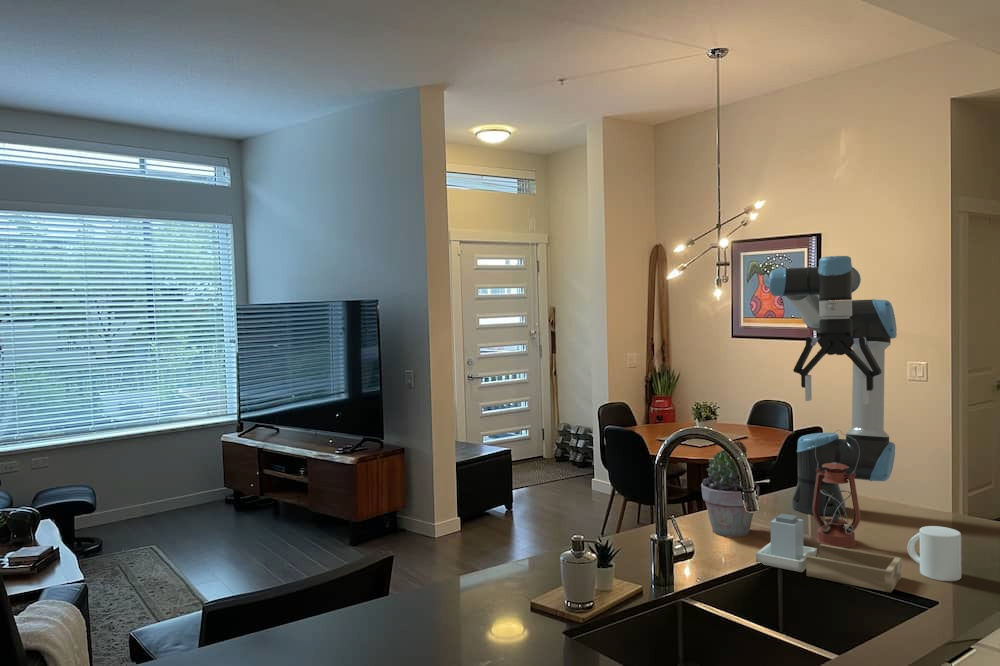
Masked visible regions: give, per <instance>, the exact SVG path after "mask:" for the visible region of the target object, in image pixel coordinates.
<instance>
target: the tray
mask: <svg viewBox="0 0 1000 666" xmlns="http://www.w3.org/2000/svg"><path fill="white" fill-rule="evenodd" d="M803 546H804V556H802V557H801V558H800V559H799V560H795V559H790V558H784V557H779V556H774V555H771V541H770V542H769V543H767V544H765V546H763V547H762V548H761V549H759V550H757V552H756V553H755V563H756V562H760V563H762V564H763V566H768V567H773V568H778V569H784V570H788V571H792V572H793V571H794V572H798V573H803V572H805V570H806V557H807V556H814V557H818V548H817V547H811V546H806V545H803ZM762 564H761V565H762Z"/></svg>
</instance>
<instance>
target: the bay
mask: <svg viewBox="0 0 1000 666" xmlns="http://www.w3.org/2000/svg"><path fill="white" fill-rule="evenodd" d="M805 570H806V573H805V574H806V576H807V577H811V578H814V579H815V578H816V579H821V580H826V581H831V582H836V583H840V584H846V585H851V586H857V587H860V588H866V589H871V590H876V591H879V592H880V591H881V592H886V593H892V592H893V590H894V588H895V587H896V586H897V584H898V583H899V581H900V580H901V578H902V557H898V556H892V555H887V554H881V553H874V552H870V551H864V550H859V549H852V548H848V547H835V546H829V545H824V544H822V543H820V544H819V545H818V556H817V557H814V556H807V557H806V569H805Z"/></svg>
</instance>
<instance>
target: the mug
mask: <svg viewBox="0 0 1000 666" xmlns="http://www.w3.org/2000/svg"><path fill="white" fill-rule="evenodd" d="M917 541H919V554H918V553H917V552H916V550H915V545H916V543H917ZM906 547H907V548H906V550H907V553H908V555H909V556H910V558H911V559H912V560H913V561H914V562H916V563H918V564H919V573H920V574H921V575H922V576H924V577H925V578H928V579H930V580H931V579H932V580H935V581H942V582H957V581H959V580H960V579H962V533H961V532H960V531H958V530H957V529H954V528H950V527H945V526H938V525H927V526H926V525H925V526H922V527H920V528H919V532H917V533H916V534H915V535H913V536H912V537H911V538H910V540H909V541H908V543H907V546H906Z"/></svg>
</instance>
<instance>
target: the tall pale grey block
mask: <svg viewBox="0 0 1000 666" xmlns="http://www.w3.org/2000/svg"><path fill="white" fill-rule="evenodd" d="M770 542H771V555H774V556H779V557H784V558H790V559H795V560H799V559H800V558H801V557H802V556H804V546H805V545H804V519H801V518H798V515H793V514H788V513H780V514H779V515H777V516H776V517H775V518H773V519H772V520H771V521H770Z"/></svg>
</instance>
